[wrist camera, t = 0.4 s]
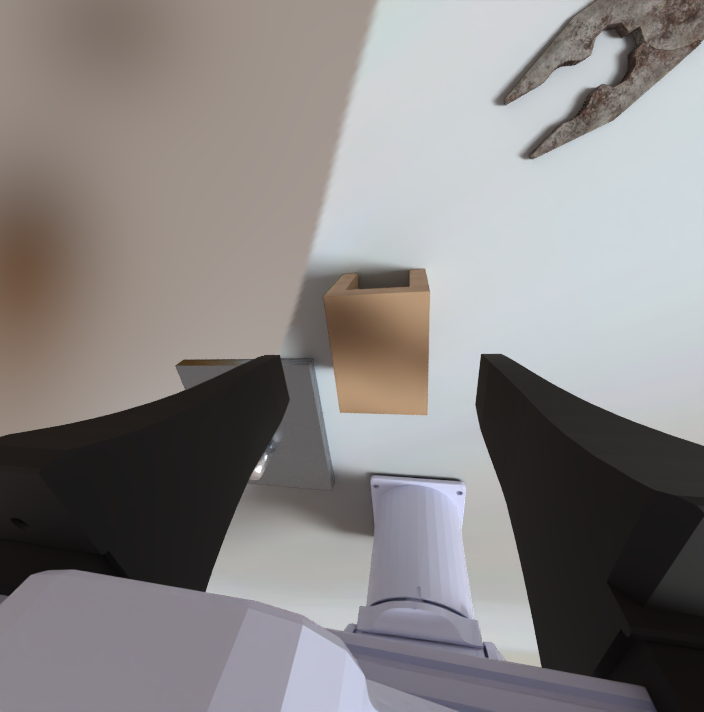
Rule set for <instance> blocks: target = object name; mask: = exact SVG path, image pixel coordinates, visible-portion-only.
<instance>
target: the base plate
mask: <svg viewBox="0 0 704 712" xmlns="http://www.w3.org/2000/svg"><path fill="white" fill-rule="evenodd" d="M251 360H253V359H226V360H225V359H222V360H220V359H219V360H218V359H217V360H183V361H181V362H180V363H178V364H177V365H176V369H177V371H178V374H179V375H180V378H181V380H182V383H183V385H184V388H185V390H187V389H189V388H192V387H194V386H196V385H198V384H201V383H203V382H205V381H207V380H210V379H212V378H214V377H216V376H219V375H221V374H223V373H225V372H227V371H229V370H231V369H233V368H235V367H238V366H240V365H242V364H244V363H246V362H248V361H251ZM281 362H282V367H283V371H284V376H285V380H286V385H287V389H288V393H289V398H290V401H289V404H288V406H287V409H286V412H285V414H284V417H283V419H282V422H281V423H280V425H279V427H278V429H277V431H276V432H275V434H274V436H273V438H272V440H271V441H270V443H269V445H268V446H267V448H266V450H265V452H264V453H263V455H262V457H261V459H260V460H259V462H258V464H257V465H256V467H255V469H254V471H253V473H252V475H251V477H250V479H249V480H248V484H260V485H271V486H283V487H295V488H307V489H319V490H330V491H332V489H333V486H334V482H335V481H334V475H333V470H332V464H331V458H330V453H329V447H328V442H327V436H326V430H325V425H324V419H323V413H322V408H321V402H320V397H319V391H318V385H317V380H316V374H315V369H314V363H313V359H281Z"/></svg>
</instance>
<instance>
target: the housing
mask: <svg viewBox="0 0 704 712" xmlns="http://www.w3.org/2000/svg"><path fill="white" fill-rule="evenodd" d="M323 299H324V306H325V312H326V319H327V326H328V333H329V340H330V347H331V354H332V361H333V368H334V375H335V381H336V388H337V395H338V402H339V409H340V413H372V414H405V415H427V406H428V357H429V308H430V290H429V285H428V280H427V275H426V271H425V269H414V270H410V287H393V288H374V289H359V285H358V273H352V274H343V275H342V276H341V277H340V278H339V280H338V281H337V282H336V283H335V284H334V285H333V286H332V287H331V288H330V289H329V291H328V292H327V293H326V294H325V295H324V296H323Z"/></svg>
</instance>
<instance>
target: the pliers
mask: <svg viewBox="0 0 704 712" xmlns="http://www.w3.org/2000/svg"><path fill="white" fill-rule="evenodd" d="M609 29H615V30H616V31H617V33H618V34H619V35H620V36H621V38H623V37H624V36H626V35H628V34H630V33H631V32H632V33H633V36H634V39H635V42H636V45H637V47H636V48H635V49H634V50H633V51H632V52H631V53H630V54H629V55H628V71H627V73H626V75H625V76H624V78H623V80H622V81H621V83H620V84H619V85H617V86H615V87H611V86H608V85H605V84H601V85H600V86H598V87H597V88H595V89H594V90H593V91H592V92H591V93H590V94H589V95H588V97H587V99H586V101H585V104H584V105H583V108H581V111H579V114H577V116H575V117H574V118H573V119H571V120H570V121H567V122H565V123H563V124H561V125H559V126H558V127H557V128H556V129H555V130H554V131H553V132H552V133H551V134H550V135H549V136H548V137H547V138H546V139H545V140H544V141H543V142H542V143H541V144H540V145H539V146H538V147H537V148H536V149H535V150H534V151H533V152H532V153H531V154H530V155H529V156H530V158H531V159H534V158H537V157H539V156H541V155H543V154H545V153H547V152H549V151H551V150H553V149H555V148H557V147H559V146H561V145H563V144H565V143H567V142H570V141H572V140H574V139H576V138H578V137H580V136H582V135H584V134H586V133H588V132H590V131H592V130H594V129H596V128H598V127H600V126H602V125H604V124H607V123H609V122H611V121H613V120H614V119H615V118H617V117H618V116H619V115H620V114H621V113H622V112H624V111H625V110H626V109H627V108H628V107H629V106H630V105H632V104H633V103H634V102H635V101H636V100H637V99H638V98H640V97H641V96H642V95H643V94H644V93H645V92H647V91H648V90H649V89H650V88H651V87H652V86H653V85H655V84H656V83H657V82H658V81H659V80H660V79H662V78H663V77H664V76H665V75H666V74H667V73H668V72H670V71H671V70H672V69H673V68H674V67H675V66H676V65H677V64H679V63H680V62H681V61H682V60H683V59H684V58H685V57H686V56H687V55H689V54H690V53H691V52H692V51H693V50H694V49H695V48H696V47H697V46H699V45H700V44H701V43H700V42H701V41H703V40H704V0H597V1H596V2H594V3H593V4H591V5H590V6H589V7H587V8H586V9H584V10H583V11H581V12H580V13H578V14H577V15H575V16H574V17H573V18H572V20H571V21H570V22H569V23H568V24H567V26H566V27H565V28H564V29H563V30H562V32H561V33H560V34H559V35H558V36H557V38H556V39H555V40H554V41H553V42H552V43H551V45H550V46H549V47H548V48H547V49H546V51H545V52H544V53H543V54H542V55H541V57H540V58H539V59H538V60H537V61H536V62H535V64H534V65H533V66H532V67H531V68H530V70H529V71H528V72H527V73H526V74H525V76H524V77H523V78H522V79H521V80H520V81H519V83H518V84H517V85H516V86H515V87H514V89H513V90H512V91H511V92H510V93H509V95H508V96H507V97H506V98H505V99H504V102H505V105H507V104H509V103H510V102H512V101H514V100H516V99H517V98H519V97H521V96H523V95H524V94H526V93H528V92H529V91H531V90H533V89H535V88H536V87H538V86H540V85H541V84H543V83H544V82H545V81H546V79H547V78H548V77H549V75H550V74H551V73H552V72H553V71H554V70H556V69H557V68H559V67H560V66H561V67H562V66H563V65H564V66H565V65H566V64H567V66H568V65H569V64H570V66H571V65H576V64H578V63H580V62H581V61H583V60H585V59H586V58H587V57H589V56H590V55H591V54H592V50H593V46H594V42H595V38H596V37H597V36H598V35H599V34H600V33H601V31H602V30H609Z"/></svg>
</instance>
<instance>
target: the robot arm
mask: <svg viewBox="0 0 704 712" xmlns="http://www.w3.org/2000/svg"><path fill="white" fill-rule="evenodd" d="M289 401H290V398H289V393H288V389H287V385H286V380H285V376H284V371H283V367H282V362H281V358H280V355H264V356H261V357H258V358H256V359H253V360H251V361H248V362H246V363H244V364H242V365H240V366H238V367H235V368H233V369H231V370H229V371H227V372H225V373H223V374H221V375H219V376H216V377H214V378H212V379H210V380H207V381H205V382H203V383H201V384H198V385H196V386H194V387H192V388H189V389H187V390H184V391H182V392H179V393H177V394H174V395H172V396H168V397H166V398H163V399H160V400H157V401H154V402H151V403H148V404H144V405H141V406H138V407H135V408H131V409H128V410H124V411H121V412H118V413H114V414H110V415H106V416H102V417H98V418H94V419H89V420H85V421H80V422H75V423H71V424H66V425H61V426H55V427H50V428H44V429H38V430H33V431H27V432H21V433H15V434H9V435H5V436H2V437H0V712H704V446H702V445H699V444H696V443H693V442H690V441H687V440H684V439H681V438H678V437H675V436H672V435H669V434H666V433H663V432H661V431H658V430H655V429H652V428H649V427H647V426H644V425H641V424H638V423H636V422H633V421H631V420H628V419H626V418H623V417H621V416H618V415H616V414H614V413H611V412H609V411H607V410H604V409H602V408H600V407H598V406H595V405H593V404H591V403H589V402H587V401H584V400H582V399H580V398H578V397H576V396H574V395H573V394H571V393H569V392H567V391H565V390H563V389H561V388H559V387H557V386H556V385H554V384H552V383H550V382H548V381H547V380H545V379H543V378H541V377H540V376H538V375H536V374H535V373H533V372H531V371H530V370H528V369H526V368H525V367H523V366H522V365H520V364H518V363H517V362H515V361H513V360H512V359H510V358H508V357H506V356H504V355H502V354H481V360H480V369H479V378H478V386H477V395H476V404H475V405H476V410H477V415H478V420H479V425H480V429H481V432H482V435H483V438H484V441H485V444H486V447H487V449H488V452H489V455H490V458H491V460H492V463H493V466H494V469H495V471H496V474H497V477H498V480H499V482H500V485H501V488H502V491H503V494H504V497H505V500H506V504H507V508H508V512H509V516H510V520H511V524H512V528H513V532H514V536H515V540H516V545H517V549H518V554H519V558H520V562H521V567H522V571H523V576H524V581H525V585H526V590H527V595H528V600H529V605H530V609H531V614H532V619H533V624H534V629H535V635H536V640H537V645H538V650H539V656H540V661H541V666H542V668H540V667H535V666H529V665H524V664H518V663H513V662H508V661H506V660H505V658H504V657H503V656H502V654H501V653H500V652H499V651H498V650H497V648H496V646H495V645H494V644H493V643H492V642H483V644H482V638H481V632H480V626H479V621H477V620H475V619H474V612H473V606H472V599H471V593H470V586H469V580H468V573H467V567H466V560H465V554H464V547H463V540H462V534H461V531H462V522H463V513H464V503H465V494H466V486H465V484H464V483H463V482H460V481H447V480H434V479H420V478H406V477H392V476H378V475H374V476H372V477H371V480H370V484H371V494H372V504H373V514H374V524H375V531H374V540H373V549H372V559H371V568H370V577H369V586H368V595H367V605H366V607H365V606H360V607H359V614H358V622H357V624H353V623H352V624H349V625H348V626H347V627H346V628H345V630H344V631H339V630H333V629H328V628H323V627H321V626H320V625H318V624H316V623H315V622H313V621H311V620H310V619H308V618H306V617H305V616H303V615H300V614H297V613H293V612H290V611H287V610H284V609H280V608H277V607H274V606H271V605H267V604H264V603H261V602H257V601H253V600H247V599H241V598H235V597H230V596H224V595H218V594H212V593H207V592H205V591H206V588H207V585H208V582H209V579H210V576H211V573H212V570H213V567H214V565H215V562H216V559H217V557H218V554H219V551H220V548H221V546H222V543H223V540H224V538H225V535H226V532H227V530H228V527H229V525H230V522H231V520H232V518H233V515H234V513H235V510H236V508H237V505H238V503H239V501H240V498H241V496H242V494H243V492H244V489H245V487H246V485H247V483H248V480H249V479H250V477H251V475H252V473H253V471H254V469H255V467H256V465H257V464H258V462H259V460H260V459H261V457H262V455H263V453H264V452H265V450H266V448H267V446H268V445H269V443H270V441H271V440H272V438H273V436H274V434H275V432H276V431H277V429H278V427H279V425H280V423H281V422H282V419H283V417H284V414H285V412H286V409H287V406H288V404H289Z"/></svg>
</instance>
